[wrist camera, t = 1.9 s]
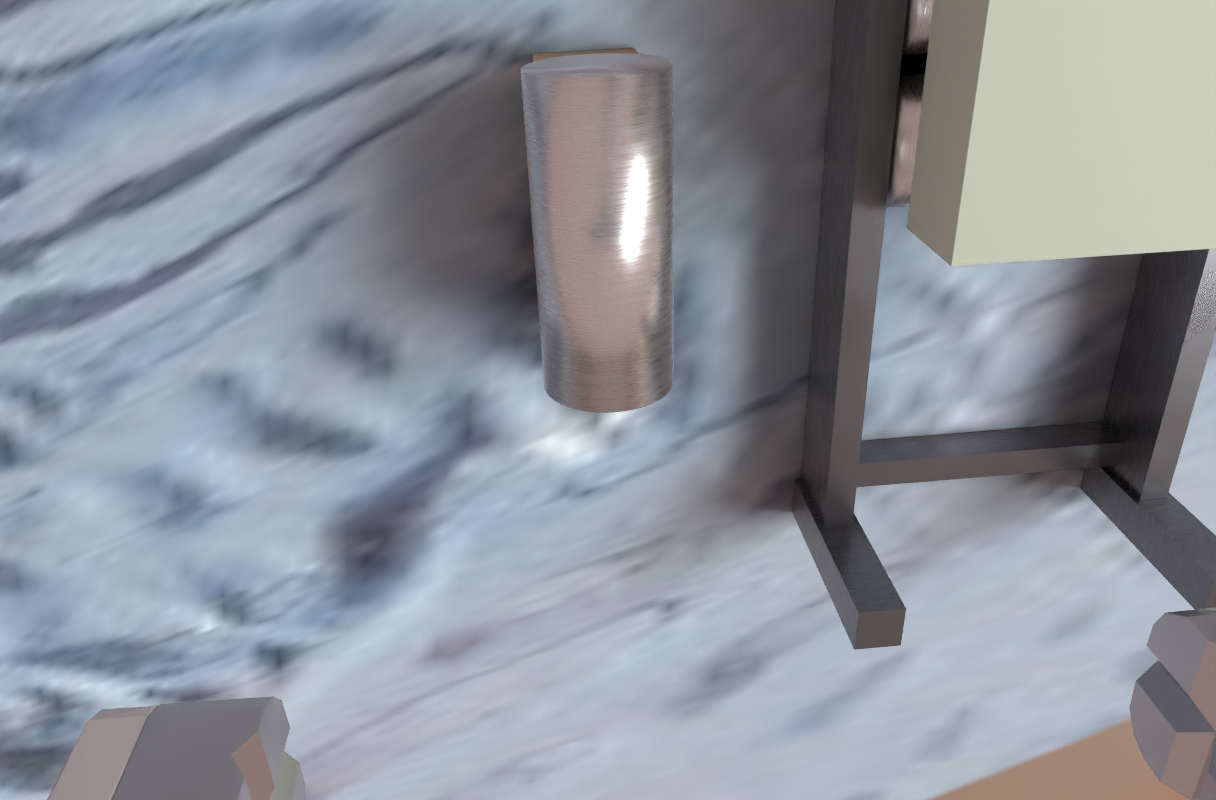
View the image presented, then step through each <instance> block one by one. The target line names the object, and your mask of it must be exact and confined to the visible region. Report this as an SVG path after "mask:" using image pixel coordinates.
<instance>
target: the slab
mask: <svg viewBox="0 0 1216 800" xmlns="http://www.w3.org/2000/svg"><path fill="white" fill-rule="evenodd" d="M907 228H908V229H909V230H910V231H911V232H912V233H914V234H915V235H916V236H917V237H918V238H919V239H921V240H922V241H923V242H924V243H925V244H926V245H927V246H929V247H930V248H931V249H932V250H933V251H934V252H936V253H937V254H938V255H939V256H940V257H941V258H942V259H944V260H945V261H946V262H947V263H948V264H949V265H951V266H962V265H977V264H992V263H1007V262H1021V261H1036V260H1051V259H1066V258H1081V257H1095V256H1110V255H1125V254H1140V253H1155V252H1169V251H1184V250H1199V249H1214V248H1216V0H934V2H933V11H932V20H931V28H930V37H929V45H928V54H927V62H926V71H925V79H924V88H923V96H922V105H921V113H920V122H919V130H918V139H917V147H916V156H915V164H914V173H913V181H912V190H911V198H910V207H909V215H908V224H907Z"/></svg>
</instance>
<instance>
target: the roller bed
mask: <svg viewBox="0 0 1216 800" xmlns="http://www.w3.org/2000/svg"><path fill="white" fill-rule="evenodd" d="M933 2H934V0H836V10H835V23H834V37H833V51H832V65H831V79H830V92H829V106H828V120H827V134H826V147H825V161H824V175H823V189H822V203H821V216H820V230H819V244H818V258H817V272H816V285H815V299H814V313H813V327H812V340H811V354H810V368H809V382H808V396H807V409H806V423H805V437H804V451H803V465H802V478H801V480H795V486H794V500H793V515H794V517H795V519H796V521H797V524H798V526H799V528H800V530H801V532H802V535H803V537H804V539H805V541H806V544H807V546H808V548H809V550H810V552H811V555H812V557H813V559H814V561H815V563H816V566H817V568H818V570H819V572H820V575H821V577H822V579H823V581H824V583H825V586H826V588H827V590H828V592H829V594H830V597H831V599H832V601H833V603H834V606H835V608H836V610H837V612H838V614H839V617H840V619H841V621H842V623H843V626H844V628H845V630H846V632H847V634H848V637H849V639H850V641H851V643H852V645H853V648H854V649H865V648H876V647H887V646H897V645H901V639H902V633H903V626H904V619H905V612H906V608H905V606H904V604H903V602H902V600H901V599H900V597H899V595H898V593H897V591H896V589H895V588H894V586H893V584H892V582H891V580H890V578H889V577H888V575H887V573H886V571H885V569H884V568H883V566H882V564H881V562H880V560H879V558H878V557H877V555H876V553H875V551H874V549H873V547H872V546H871V544H870V542H869V540H868V538H867V536H866V535H865V533H864V531H863V529H862V527H861V526H860V524H859V522H858V520H857V518H856V516H855V515H854V504H855V494H856V487H864V486H876V485H889V484H901V483H913V482H925V481H937V480H949V479H962V478H974V477H986V476H998V475H1010V474H1023V473H1035V472H1047V471H1059V470H1071V469H1084V468H1086V470H1085V474H1084V478H1083V482H1082V486H1081V489H1082V490H1083V492H1084V493H1085V494H1086V495H1087V496H1088V497H1089V498H1090V499H1091V500H1092V501H1093V502H1094V503H1095V504H1096V505H1097V506H1098V507H1099V508H1100V509H1101V511H1102V512H1103V513H1104V514H1105V515H1106V516H1107V517H1108V518H1109V519H1110V520H1111V521H1112V522H1113V523H1114V524H1115V525H1116V526H1117V527H1118V529H1119V530H1120V531H1121V532H1122V533H1123V534H1124V535H1125V536H1126V537H1127V538H1128V539H1129V540H1130V541H1131V542H1132V543H1133V544H1134V545H1135V547H1136V548H1137V549H1138V550H1139V551H1140V552H1141V553H1142V554H1143V555H1144V556H1145V557H1146V558H1147V559H1148V560H1149V561H1150V562H1151V563H1152V565H1153V566H1154V567H1155V568H1156V569H1157V570H1158V571H1159V572H1160V573H1161V574H1162V575H1163V576H1164V577H1165V578H1166V579H1167V580H1168V581H1169V583H1170V584H1171V585H1172V586H1173V587H1174V588H1175V589H1176V590H1177V591H1178V592H1179V593H1180V594H1181V595H1182V596H1183V597H1184V598H1185V599H1186V601H1187V602H1188V603H1189V604H1190V605H1191V606H1192V607H1193V608H1194V609H1195V610H1197V609H1207V608H1216V536H1215V535H1214V534H1213V533H1212V532H1211V531H1210V530H1209V529H1208V528H1207V527H1206V526H1204V525H1203V524H1202V523H1201V522H1200V521H1199V520H1198V519H1197V518H1196V517H1195V516H1194V515H1193V514H1191V513H1190V512H1189V511H1188V510H1187V509H1186V508H1185V507H1184V506H1183V505H1182V504H1181V503H1180V502H1178V501H1177V500H1176V499H1175V498H1174V497H1173V496H1172V495H1171V494H1170V493H1169V488H1170V485H1171V481H1172V478H1173V475H1174V471H1175V468H1176V464H1177V461H1178V457H1179V454H1180V451H1181V447H1182V444H1183V440H1184V437H1185V434H1186V430H1187V427H1188V423H1189V420H1190V416H1191V413H1192V410H1193V406H1194V403H1195V399H1196V396H1197V392H1198V389H1199V386H1200V382H1201V379H1202V375H1203V372H1204V369H1205V365H1206V362H1207V358H1208V355H1209V351H1210V348H1211V345H1212V341H1213V338H1214V334H1215V331H1216V248H1214V249H1199V250H1184V251H1169V252H1155V253H1144V256H1143V260H1142V265H1141V269H1140V273H1139V277H1138V281H1137V285H1136V289H1135V293H1134V297H1133V302H1132V306H1131V310H1130V314H1129V318H1128V322H1127V326H1126V330H1125V334H1124V339H1123V343H1122V347H1121V351H1120V355H1119V359H1118V363H1117V367H1116V371H1115V376H1114V380H1113V384H1112V388H1111V392H1110V396H1109V400H1108V404H1107V408H1106V413H1105V417H1104V421H1103V422H1096V423H1084V424H1071V425H1058V426H1046V427H1033V428H1020V429H1008V430H995V431H982V432H970V433H957V434H944V435H932V436H919V437H907V438H894V439H881V440H869V441H861V438H862V428H863V419H864V409H865V400H866V390H867V381H868V371H869V362H870V352H871V343H872V333H873V324H874V314H875V305H876V295H877V286H878V276H879V267H880V258H881V248H882V239H883V229H884V220H885V210H886V207H898V206H910V198H911V190H912V181H913V173H914V164H915V156H916V147H917V139H918V130H919V122H920V113H921V105H922V96H923V88H924V79H925V74H921V75H903V76H900V68H901V59H902V55H908V54H927V53H928V45H929V37H930V28H931V20H932V11H933Z"/></svg>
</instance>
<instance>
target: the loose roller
mask: <svg viewBox="0 0 1216 800" xmlns="http://www.w3.org/2000/svg"><path fill="white" fill-rule="evenodd" d="M520 72H521V85H522V98H523V112H524V125H525V138H526V151H527V164H528V177H529V191H530V204H531V217H532V230H533V243H534V257H535V270H536V283H537V296H538V309H539V323H540V336H541V349H542V362H543V375H544V387H545V390H546V392H547V394H548V395H549V396H550V397H551V398H552V399H553V400H555V401H556V402H558V403H560V404H562V405H564V406H567V407H570V408H573V409H577V410H582V411H588V412H621V411H628V410H633V409H637V408H641V407H644V406H647V405H650V404H652V403H654V402H656V401H658V400H660V399H661V398H663V397H664V396H665V395H666V394H667V393H668V392H669V391H670V390H671V388H672V386H673V382H674V323H673V63H672V62H671V61H670V60H668V59H666V58H662V57H658V56H652V55H643V54H627V53H599V54H581V55H570V56H561V57H554V58H548V59H543V60H538V61H534V62H531V63H528V64H526V65H524V66H522V67H521V69H520Z"/></svg>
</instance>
